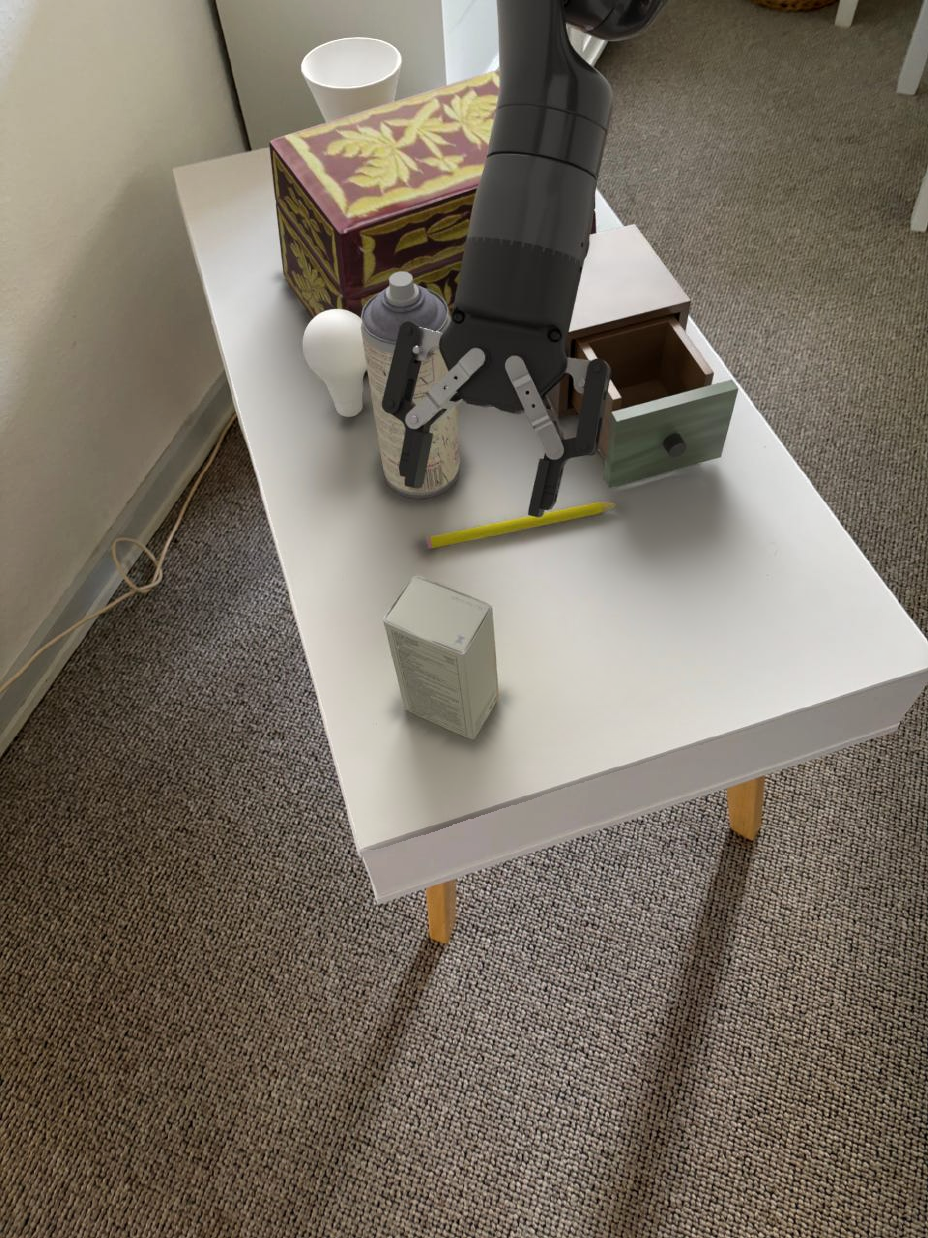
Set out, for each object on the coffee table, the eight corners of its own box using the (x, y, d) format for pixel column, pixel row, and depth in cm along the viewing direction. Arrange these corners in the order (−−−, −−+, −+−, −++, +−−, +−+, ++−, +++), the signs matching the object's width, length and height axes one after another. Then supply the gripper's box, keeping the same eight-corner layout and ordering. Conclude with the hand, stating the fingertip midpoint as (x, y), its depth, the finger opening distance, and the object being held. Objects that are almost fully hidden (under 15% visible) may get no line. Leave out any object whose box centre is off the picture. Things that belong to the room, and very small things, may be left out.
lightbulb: (368, 382, 94) (353, 285, 84) (393, 422, 90) (380, 326, 81) (308, 403, 92) (286, 307, 83) (331, 445, 89) (311, 349, 80)
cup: (315, 166, 115) (293, 45, 103) (402, 151, 116) (390, 30, 105) (329, 217, 109) (308, 95, 98) (421, 200, 110) (411, 78, 99)
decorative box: (353, 381, 94) (329, 243, 81) (282, 275, 103) (251, 138, 91) (599, 288, 100) (611, 147, 88) (510, 196, 110) (510, 58, 97)
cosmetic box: (500, 697, 74) (498, 604, 64) (472, 744, 72) (466, 656, 61) (427, 665, 76) (414, 570, 65) (398, 710, 73) (380, 619, 63)
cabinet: (675, 387, 92) (691, 300, 83) (557, 419, 90) (562, 333, 82) (624, 310, 98) (634, 223, 90) (513, 339, 96) (514, 252, 88)
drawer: (727, 466, 84) (745, 398, 78) (614, 499, 83) (622, 432, 76) (669, 378, 91) (681, 308, 84) (562, 407, 89) (566, 338, 83)
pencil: (429, 551, 82) (428, 543, 81) (426, 542, 82) (425, 534, 81) (618, 511, 83) (619, 504, 82) (615, 503, 84) (616, 495, 83)
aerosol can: (476, 471, 87) (467, 279, 70) (415, 511, 84) (392, 322, 68) (427, 430, 90) (408, 237, 73) (368, 467, 87) (334, 277, 71)
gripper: (400, 215, 59) (354, 480, 63) (632, 254, 56) (569, 530, 60) (435, 241, 66) (392, 477, 70) (642, 276, 63) (586, 521, 67)
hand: (473, 501), depth 65 cm, fingers open, 8 cm apart
